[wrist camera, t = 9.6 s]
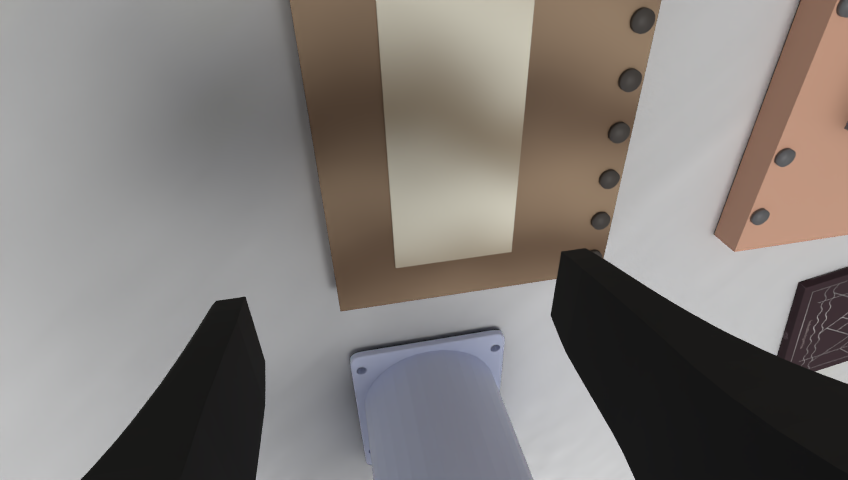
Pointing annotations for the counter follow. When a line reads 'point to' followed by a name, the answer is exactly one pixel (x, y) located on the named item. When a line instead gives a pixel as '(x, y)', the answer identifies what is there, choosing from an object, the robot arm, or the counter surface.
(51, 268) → the counter surface
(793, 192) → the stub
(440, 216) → the board
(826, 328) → the chocolate bar
